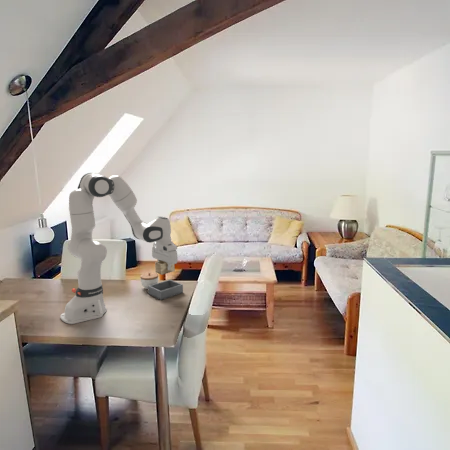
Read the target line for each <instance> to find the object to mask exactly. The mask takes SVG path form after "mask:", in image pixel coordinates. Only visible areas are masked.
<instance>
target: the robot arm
mask: <svg viewBox="0 0 450 450" xmlns="http://www.w3.org/2000/svg"><path fill="white" fill-rule="evenodd" d="M106 196H109V197H110V198H111V200H112V201H113V203H114V204H115V206H116V207H117V208H118V210H120V211H121V213H122V214H123V215H124V217H125V219H126V220H127V222H128V223H129V226H130V228H131V232H132V235H133V237H134V238H135V239H138V240H140V241H143V242H146V243H151V244H152V243H153V244H152V250H151V256H152V258H153V259H156V261H157V262H158V261H164V262H166V263H167V264H168V266H167V270H170V269H171V265H172V264H174V265H175V264H176V265H177V263H178V246H177V244H175V243H174V242H173V241H172V236H171V235H172V234H171V233H172V228H171V221H170V219H169V218H168V217H166V216H156V217H155V218H154V219H153V220H152V221H150V222H149V223H146V222H145V221H144V220H142V219H141V217H140V216H139V214H138V213H137V211H136V210H135V207H136V205H137V202H138V200H137V196H136V194H135V193H134V191H133V190H132V188H131V187H130V186H129V184H128V183H127V182H126V181H125V180H124V179H123V178H122V177H121V176H120V175H117V174H116V175H111V176H109V177H108V176H105V175H101V174H99V173H96V172H95V173H93V172H88V173H85V174H83V175H82V177H81V178H80V181H79V183H78V186H77V189H74V190H72V191H70V193H69V197H68V210H69V217H70V223H71V224H70V225H71V234H70V235H71V237H70V240H69V242H68V244H67V250H68V252H69V253H70V254H71V255H72V256H73V257H75V258H77V259H79V260H81V261H80V262H81V263H80V269H79V270H78V271H77V283H78V287H77V288H71V292H72V293H74V294H75V295H74V296H73V297H72V298H71V299H70V300H69V301H68V302H67V303H66V304H65V306H64V307H65V308H64V312H63V313H61V314H60V316H59V317H60V319H61V321H62V322H64V323H66V324H69V325H74V324H78V323H82V322H88V321H91V320H95V319H100V318H102V317H103V316H104V314H105V313H106V312H107V311H108V309H107V307H106V303H105V301H104V295H103V294H104V288H103V284H102V275H101V274H102V273H101V271H102V270H101V269H102V264H103V261H104V260H105V259H106V257H107V255H108V249H107V247H106V246H105V245H104V244H103V243H102V242H100V241H98V240H95V239H93V231H94V229H95V227H96V219H95V211H94V206H93V201H94V198H95V197H96V198H104V197H106Z"/></svg>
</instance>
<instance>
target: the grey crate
mask: <svg viewBox="0 0 450 450" xmlns="http://www.w3.org/2000/svg"><path fill="white" fill-rule="evenodd" d="M147 291H148V295H149V296H151V297H153V298H156V299H158V300H160V301H162V300H166V299H169V298H172V297H174V296H178V295H181V294H183V293H184V285H183V284H182V283H180V282H177V281H175V280H172V279H167V280H163V281H161V282H158V283H157V284H153V285H150V286H148V289H147Z"/></svg>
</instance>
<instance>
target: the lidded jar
mask: <svg viewBox="0 0 450 450" xmlns="http://www.w3.org/2000/svg"><path fill="white" fill-rule="evenodd" d="M139 276H140V277H139V278H140V283H141V286H142V287H143V288H144V289H145V290H148V286H150V285H153V284H157V283H159V274H158V273H156V272H151V271H149V272H144V273H142V274H141V275H139Z"/></svg>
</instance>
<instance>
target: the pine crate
mask: <svg viewBox="0 0 450 450" xmlns="http://www.w3.org/2000/svg"><path fill="white" fill-rule="evenodd" d="M154 264H155V265H154V267H155V273H157V274H158V275H161V276H163V275H165V274H166V275H167V274H170V273H172V272H175V264H172V265H171V269H170V270H167V266H168V264H167V263H166V262H164V261H158V260H157V261H155V262H154Z"/></svg>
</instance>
